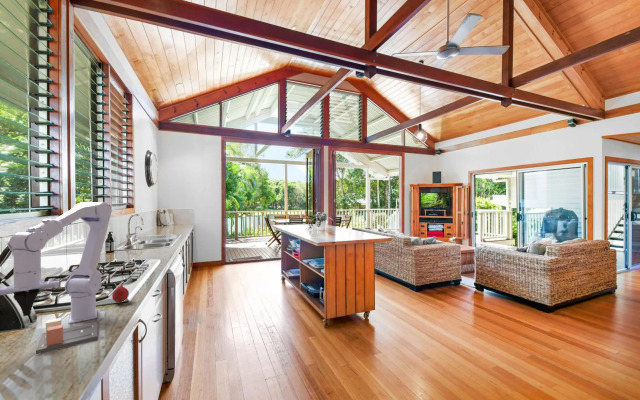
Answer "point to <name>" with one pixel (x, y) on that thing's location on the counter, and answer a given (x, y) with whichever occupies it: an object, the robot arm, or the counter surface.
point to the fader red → (54, 335)
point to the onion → (120, 294)
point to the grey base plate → (70, 337)
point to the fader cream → (52, 323)
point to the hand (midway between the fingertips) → (27, 314)
